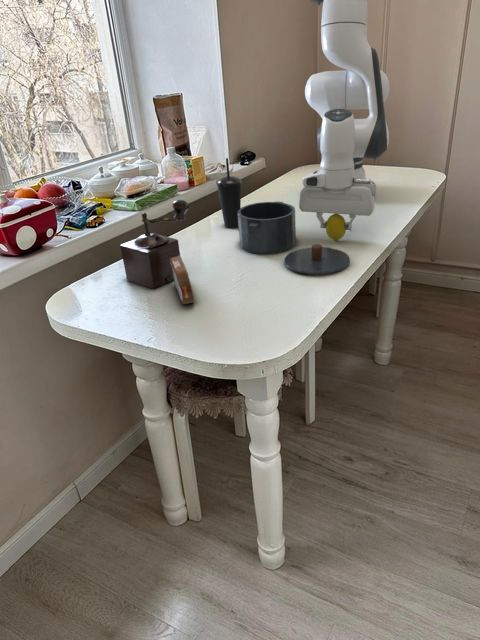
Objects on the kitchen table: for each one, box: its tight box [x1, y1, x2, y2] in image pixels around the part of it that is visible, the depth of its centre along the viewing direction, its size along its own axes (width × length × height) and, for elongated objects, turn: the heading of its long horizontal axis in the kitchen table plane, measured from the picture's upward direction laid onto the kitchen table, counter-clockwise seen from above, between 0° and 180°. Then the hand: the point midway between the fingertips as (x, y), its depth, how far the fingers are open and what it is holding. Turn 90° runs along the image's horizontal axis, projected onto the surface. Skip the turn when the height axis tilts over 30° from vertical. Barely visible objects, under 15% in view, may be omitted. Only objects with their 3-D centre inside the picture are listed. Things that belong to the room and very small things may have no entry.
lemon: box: [325, 214, 347, 242], centre depth 148 cm, size 6×6×8 cm
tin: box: [170, 254, 195, 305], centre depth 123 cm, size 15×3×8 cm, turn 17°
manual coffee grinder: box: [120, 199, 190, 290], centre depth 132 cm, size 16×11×18 cm
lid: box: [284, 243, 351, 275], centre depth 136 cm, size 17×17×5 cm
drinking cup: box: [215, 157, 243, 229], centre depth 160 cm, size 8×8×20 cm
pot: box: [238, 200, 297, 255], centre depth 148 cm, size 16×21×10 cm
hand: (335, 228), depth 148 cm, fingers closed on lemon, 5 cm apart
